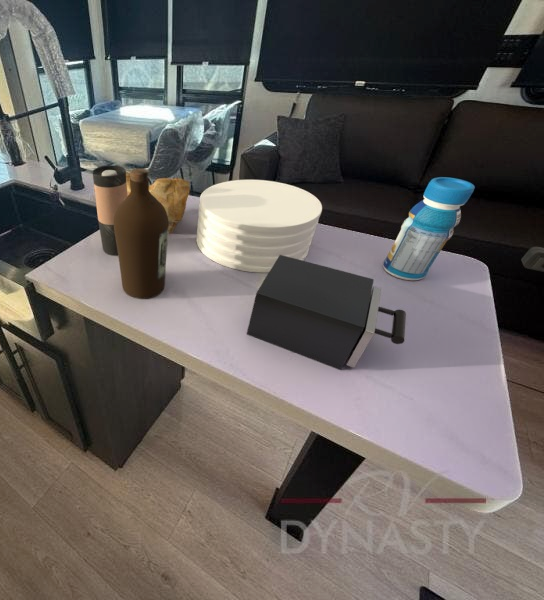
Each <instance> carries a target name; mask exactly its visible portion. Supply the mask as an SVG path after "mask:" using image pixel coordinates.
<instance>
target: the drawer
mask: <svg viewBox="0 0 544 600" xmlns="http://www.w3.org/2000/svg"><path fill="white" fill-rule="evenodd" d="M381 294H382V288H381V287H379V286H372V291H371V296H370V301H369V306H368V311H367V316H366V321H365V326H364V329H363V331H362V332H361V334H360V336H359V338H358V340H357V342H356V343H355V345H354V347H353V349H352V351H351V352H350V354H349V356H348V358H347V360H346V361H345V366H348V367H350V368H353V369H354V368H355V367H356V366H357V364H358V362H359V360H360V359H361V358H362V355H363V353H364V352H365V350H366V349H367V347H368V345H369V343H370V342H371V340H372V338H373V336H374V335H379V336H382V337H385V338H388V339H390V342H392V343H393V344H395V345H401V344H404V343H405V336H406V321H407V320H406V319H407V312H406V311H405V310H404V309H399V308H398V309H395V310H392V309H389V308H385V307H382V306H380V300H381V296H382V295H381ZM379 312H380V313H382V314H386V315H389V316H392V326H391V332H389V331H386V330H383V329H379V328H376V326H377V319H378V313H379Z"/></svg>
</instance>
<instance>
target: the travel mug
mask: <svg viewBox="0 0 544 600" xmlns="http://www.w3.org/2000/svg"><path fill="white" fill-rule="evenodd" d="M126 170H127V169H126V168H125V167H124V166H121V165H114V164H113V165H112V164H111V165H110V164H109V165H102V166H98V167H96V168H94V169H93V170H92V181H93V188H94V196H95V206H96V212H97V221H98V227H99V234H100V239H101V245H102V250H103V252H104V253H105V254H106V255H110V256H118V250H117V244H116V238H115V232H114V216H115V213H116V210H117V208H118V207H119V205H120V204H121V203H122V202H123V201H124V200H125V199H126V197H127V196H128V194H127V181H126V172H127V171H126Z"/></svg>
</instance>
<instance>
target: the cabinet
mask: <svg viewBox="0 0 544 600" xmlns="http://www.w3.org/2000/svg"><path fill="white" fill-rule="evenodd" d="M374 281H375V280H374V278H372V277H371V278H370V277H367V276H362V275H359V274H355V273H351V272H347V271H344V270H340V269H336V268H333V267H328V266H325V265H321V264H318V263H313V262H310V261H306V260H303V261H302V260H298V259H295V258H291V257H287V256H283V255H279V257H278V259H277V260H276V262H275V263H274V265H273V267H272V268H271V270H270V272H267V274H266V276H265V278H264V280H263V281H262V283H261V285H260V286H259V288H258V290H257V291H256V294H255V297H254V301H253V305H252V310H251V314H250V319H249V321H248V322H249V323H248V325H247V330H246V335H248V336H250V337H253V338H256V339H258V340H261V341H264V342H265V343H269V344H271V345H273V346H277V347H278V348H282V349H284V350H287V351H290V352H292V353H294V354H297V355H299V356H302V357H305V358H308V359H309V360H313V361H316V362H318V363H321V364H323V365H325V366H329V367H331V368H334V369H336V370H339V371H341V370H342V369H343V367H344V365H345V364H346V362H347V358H348V356H349V354H350V352H351V351H352V349H353V347H354V345H355V343H356V342H357V340H358V338H359V336H360V334H361V332H362V331H363V329H364V326H365V321H366V316H367V311H368V306H369V301H370V296H371V291H372V288H373V287H374V286H373V285H374Z"/></svg>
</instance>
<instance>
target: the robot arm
mask: <svg viewBox="0 0 544 600" xmlns="http://www.w3.org/2000/svg"><path fill="white" fill-rule="evenodd" d="M520 260H521V263H522V265H523V267H524V268H525V269H528V270H533V271H538V272H543V273H544V247H540V246H532V247H530V248H529V249H528V250H527V251H526V253H524V255H523V256H522V257H521V259H520Z"/></svg>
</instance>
